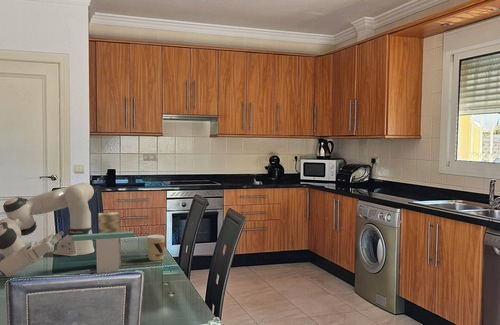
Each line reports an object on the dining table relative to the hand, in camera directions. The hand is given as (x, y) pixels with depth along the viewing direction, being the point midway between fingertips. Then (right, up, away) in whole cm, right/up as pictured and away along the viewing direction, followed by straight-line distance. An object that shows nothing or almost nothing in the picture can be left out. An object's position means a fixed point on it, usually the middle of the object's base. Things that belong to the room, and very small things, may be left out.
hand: (62, 234), depth 208 cm
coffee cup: (+37, -18, +29) cm, 51 cm away
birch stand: (+17, -18, +18) cm, 30 cm away
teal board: (+17, -3, +5) cm, 18 cm away
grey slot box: (+19, -18, +7) cm, 28 cm away
